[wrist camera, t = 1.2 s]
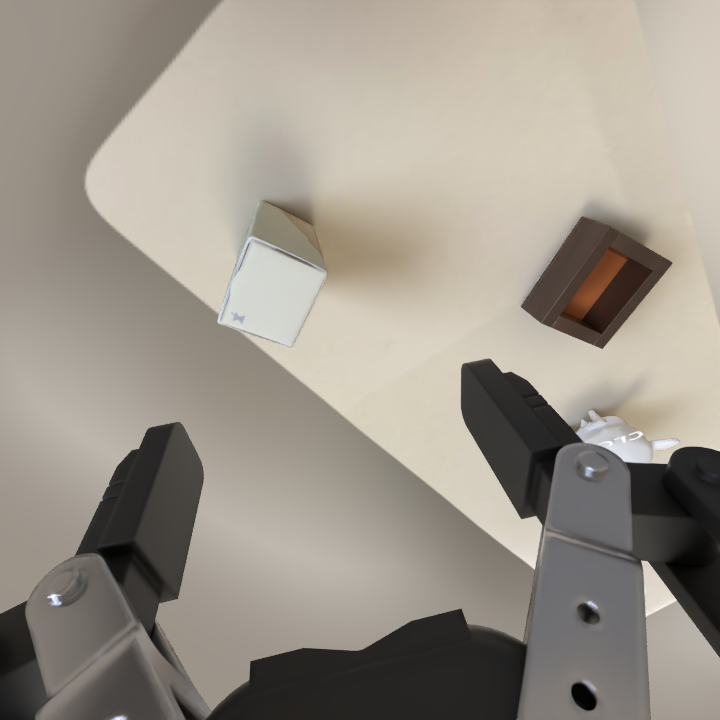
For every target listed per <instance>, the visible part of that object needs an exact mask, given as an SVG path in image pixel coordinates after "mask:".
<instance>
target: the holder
mask: <svg viewBox="0 0 720 720" xmlns="http://www.w3.org/2000/svg"><path fill="white" fill-rule="evenodd" d="M671 265H672V262H671V261H669V260H667V259H666V258H664V257H662V256H660V255H659V254H657V253H655V252H654V251H652V250H650V249H648V248H647V247H645V246H643V245H641V244H640V243H638V242H636V241H635V240H633V239H631V238H629V237H628V236H626V235H624V234H623V233H621V232H619V231H617V230H616V229H614V228H612V227H610V226H608V225H605V224H602V223H599V222H596V221H593V220H590V219H587V218H584V217H581V219H580V220H579V222H578V223H577V225H576V226H575V228H574V229H573V230H572V232H571V233H570V235H569V236H568V238H567V239H566V241H565V242H564V244H563V245H562V247H561V248H560V250H559V251H558V253H557V254H556V256H555V257H554V259H553V260H552V262H551V263H550V265H549V266H548V267H547V269H546V270H545V272H544V273H543V275H542V276H541V278H540V279H539V281H538V282H537V284H536V285H535V287H534V288H533V290H532V291H531V293H530V294H529V296H528V297H527V299H526V300H525V302H524V303H523V304H522V306H521V307H522V308H523V309H524V310H525V311H527V312H528V313H529V314H530V315H532V316H533V317H534V318H535V319H537V320H538V321H539V322H540V323H542V324H544V325H547V326H549V327H551V328H554V329H556V330H558V331H561V332H563V333H566V334H568V335H570V336H573V337H575V338H577V339H580V340H582V341H585V342H587V343H589V344H592V345H594V346H597V347H599V348H601V349H603V348H604V346H605V345H606V344H607V343H608V342H609V340H610V339H611V338H612V337H613V335H614V334H615V333H616V332H617V331H618V329H619V328H620V327H621V326H622V324H623V323H624V322H625V321H626V320H627V318H628V317H629V316H630V315H631V313H632V312H633V311H634V310H635V309H636V307H637V306H638V305H639V304H640V302H641V301H642V300H643V299H644V298H645V296H646V295H647V294H648V293H649V291H650V290H651V289H652V288H653V287H654V285H655V284H656V283H657V282H658V281H659V279H660V278H661V277H662V276H663V274H664V273H665V272H666V271H667V270H668V268H669V267H670V266H671Z"/></svg>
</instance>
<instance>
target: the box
mask: <svg viewBox="0 0 720 720" xmlns="http://www.w3.org/2000/svg"><path fill="white" fill-rule="evenodd" d="M327 274H328V271H327V269H326V266H325V262H324V259H323V256H322V253H321V249H320V246H319V243H318V240H317V237H316V234H315V230H314V227H313V226H312V225H310V224H308V223H306V222H305V221H303V220H301V219H299V218H297V217H295V216H293V215H291V214H289V213H287V212H285V211H283V210H281V209H279V208H277V207H275V206H273V205H271V204H269V203H266V202H264V201H260V202H259V203H258V206H257V208H256V210H255V213H254V215H253V218H252V220H251V223H250V225H249V228H248V231H247V233H246V236H245V239H244V241H243V244H242V247H241V250H240V253H239V256H238V259H237V262H236V264H235V267H234V270H233V273H232V276H231V279H230V282H229V285H228V288H227V291H226V294H225V298H224V301H223V304H222V307H221V310H220V314H219V317H218V323H219V324H222V325H225V326H228V327H230V328H233V329H236V330H238V331H241V332H244V333H247V334H250V335H253V336H256V337H258V338H261V339H265V340H267V341H270V342H274V343H277V344H280V345H283V346H286V347H292V346H293V345H294V343H295V341H296V339H297V337H298V336H299V334H300V332H301V330H302V328H303V326H304V324H305V322H306V320H307V318H308V316H309V314H310V312H311V309H312V307H313V305H314V303H315V301H316V299H317V297H318V295H319V292H320V290H321V288H322V286H323V283H324V281H325V279H326V277H327Z"/></svg>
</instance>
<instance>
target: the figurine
mask: <svg viewBox="0 0 720 720" xmlns="http://www.w3.org/2000/svg"><path fill="white" fill-rule="evenodd" d="M588 414H589V415H590V417H591V419H592V421H593V422H589V423H587V422H586V421H585V420H583V419H582V421H581V428H579V429H578V431H577V432H575V431H574V432H575V433H576V434H577V435H578V436H579V437H580V438H581V439H582V441H583V442H584V443H590V444H595V445H599V446H601V447H604V448H606V449H608V450H610V451H612V452H614V453H615V454H617V455H618V456H619V457H620V458H621V459H622V460H623V461H624V462H632V463H651V461H652V457H653V451H656V450H664V449H669V448H672V447H674V446H676V445H678V444H680V440H679V439H676V438H675V439H663V440H654V441H651V442H649V441H647V439H646V438H645V437H644V436H643V435H642V432H638V431H637V430H636V429H635V428H633V427H631V426H629V425H628V424H627V423H626V422H625V421H624V420H623V419H622V418H620V417H618V416H606V417H603V418H601V417H600V416H599V415H598V414H597V413H596V412H595V411H594V410H590V411H589V412H588Z"/></svg>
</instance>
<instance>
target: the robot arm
mask: <svg viewBox="0 0 720 720" xmlns="http://www.w3.org/2000/svg"><path fill="white" fill-rule="evenodd" d="M461 410H462V415H463V419H464V421H465V424H466V426H467V428H468V429H469V431H470V433H471V434H472V436H473V438H474V440H475V441H476V443H477V445H478V446H479V448H480V450H481V451H482V453H483V455H484V457H485V458H486V460H487V462H488V463H489V465H490V467H491V468H492V470H493V472H494V473H495V475H496V477H497V479H498V480H499V482H500V484H501V485H502V487H503V489H504V490H505V492H506V494H507V496H508V497H509V499H510V501H511V502H512V504H513V506H514V507H515V509H516V511H517V513H518V514H519V516H520V518H521V519H524V518H528V517H533V516H537V517H538V519H539V521H540V522H541V524H542V525H543V526H542V531H541V537H540V543H539V549H538V555H537V561H536V568H535V574H534V580H533V586H532V593H531V598H530V604H529V610H528V615H527V621H526V627H525V632H524V638H523V642H521V641H520V640H518V639H516V638H514V637H512V636H510V635H508V634H506V633H504V632H501V631H498V630H495V629H492V628H489V627H484V626H478V625H469V624H467V623H466V620H465V617H464V615H463V612H462V609H458V610H454V611H450V612H446V613H442V614H438V615H434V616H430V617H426V618H422V619H418V620H414V621H411V622H409V623H407V624H406V625H404V626H402V627H401V628H399V629H397V630H395V631H394V632H392V633H390V634H389V635H387V636H385V637H384V638H382V639H380V640H379V641H377V642H375V643H373V644H372V645H370V646H368V647H367V648H365V649H363V650H359V651H346V650H328V649H312V648H302V649H298V650H294V651H290V652H286V653H282V654H278V655H274V656H270V657H266V658H262V659H258V660H254V661H251V662H250V663H251V664H250V679H249V681H248V682H246V683H244V684H243V685H241V686H240V687H238V688H237V689H236V690H234V691H233V692H232V693H231V694H229V695H228V696H227V697H226V698H225V699H224V700H223V701H222V702H221V703H220V704H219V705H218V706H217V707H216V708H215V709H214V710H213V711H211V709H210V708H209V706H208V705H207V703H206V702H205V701H204V699H203V698H202V697H201V695H200V694H199V692H198V691H197V689H196V688H195V686H194V685H193V683H192V681H191V680H190V678H189V676H188V674H187V672H186V671H185V669H184V667H183V665H182V664H181V662H180V660H179V658H178V656H177V655H176V653H175V651H174V649H173V648H172V646H171V644H170V642H169V641H168V639H167V637H166V635H165V633H164V632H163V630H162V628H161V627H160V625H159V623H158V622H157V620H156V619H155V617H156V613H157V609H158V605H159V603H162V602H167V601H170V600H175V599H178V595H179V591H180V586H181V582H182V577H183V573H184V568H185V563H186V559H187V554H188V550H189V545H190V540H191V536H192V532H193V527H194V522H195V518H196V513H197V508H198V504H199V499H200V495H201V490H202V485H203V479H204V477H203V476H204V474H203V466H202V463H201V460H200V458H199V456H198V454H197V452H196V450H195V448H194V446H193V444H192V442H191V440H190V438H189V436H188V434H187V432H186V430H185V428H184V427H183V425H182V424H181V423H180V422H176V423H170V424H165V425H161V426H156V427H151V428H149V429H148V430H147V432H146V434H145V436H144V438H143V441H142V443H141V445H140V448H139V449H136V450H132V451H131V452H130V453H129V454H128V455H127V456H126V457H125V458H124V460H123V461H122V462H121V463H120V464H119V465H118V466H117V468H116V470H115V472H114V474H113V476H112V478H111V480H110V483H109V487H107V489H106V491H105V493H104V495H103V501H101V502H100V504H99V506H98V508H97V510H96V512H95V514H94V516H93V519H92V521H91V523H90V525H89V527H88V530H87V531H86V534H85V535H84V538H83V540H82V542H81V544H80V547H79V548H78V550H77V553H76V555H75V556H74V557H71V558H70V559H67V560H65V561H64V562H62V563H61V564H59V565H58V566H56V567H55V568H54V569H52V570H51V571H50V572H49V573H48V574H47V575H46V576H44V578H43V579H42V580H41V581H40V582H39V583H38V584H37V586H36V587H35V588H34V590H33V591H32V593H31V595H30V597H29V599H28V600H27V601H25V602H24V603H22V604H20V605H17V606H15V607H13V608H12V609H9V610H8V611H5V612H4V613H1V614H0V720H651V716H650V696H649V677H648V657H647V638H646V617H645V597H644V577H643V567H642V563H641V560H642V561H648V562H649V563H650V565H651V566H652V567H653V569H654V570H655V571H656V573H657V574H658V575H659V577H660V578H661V579H662V581H663V582H664V583H665V585H666V586H667V587H668V589H669V590H670V591H671V593H672V594H673V595H674V597H675V598H676V599H677V601H678V602H679V603H680V605H681V606H682V607H683V609H684V610H685V612H686V613H687V614H688V616H689V617H690V618H691V620H692V621H693V622H694V623H695V625H696V626H697V628H698V629H699V630H700V632H701V633H702V634H703V636H704V637H705V638H706V640H707V641H708V642H709V644H710V645H711V646H712V648H713V649H714V650H715V652H716V653H717V654H718V656H719V657H720V452H719V451H716V450H713V449H709V448H703V447H684V448H680V449H678V450H676V451H675V452H674V453H673V454H672V456H671V457H670V460H669V462H668V464H653V463H632V462H624V461H623V460H622V459H621V458H620V457H619V456H618V455H617V454H615V453H614V452H612V451H610V450H608V449H606V448H604V447H601V446H599V445H595V444H590V443H584V442H583V441H582V439H581V438H580V437H579V436H578V435H577V434H576V433H575V432H574V431H573V430H572V429H571V427H570V426H569V425H568V424H567V423H566V422H565V421H564V420H563V419H562V418H561V417H560V416H559V414H558V413H557V412H556V411H555V410H554V409H553V408H552V407H551V406H550V405H548V403H547V401H546V400H545V399H544V398H543V397H542V396H541V395H539V394H538V392H537V390H536V389H535V388H534V387H533V386H532V385H531V384H530V383H529V382H528V381H527V380H525V379H524V378H522V377H520V376H518V375H516V374H514V373H512V372H508V373H502V372H501V371H500V369H499V368H498V367H497V366H496V365H495V363H494V362H493V361H492V360H491V359H484V360H479V361H474V362H469V363H464V364H463V365H462V368H461Z"/></svg>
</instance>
